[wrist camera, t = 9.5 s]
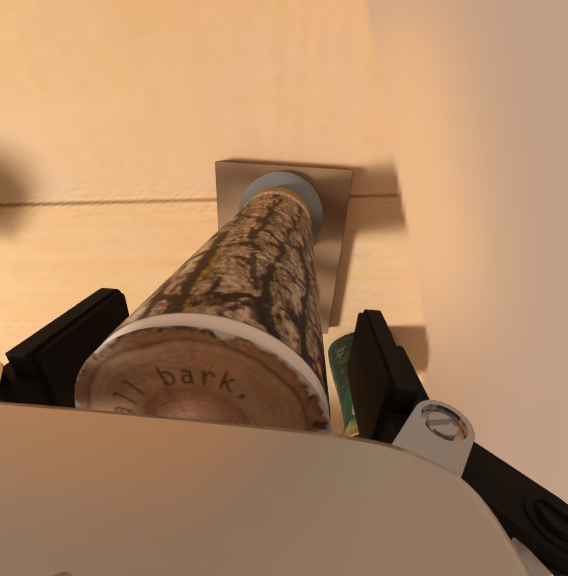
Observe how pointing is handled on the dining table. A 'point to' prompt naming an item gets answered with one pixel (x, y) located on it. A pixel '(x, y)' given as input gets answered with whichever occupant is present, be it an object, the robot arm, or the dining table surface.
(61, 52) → the dining table surface
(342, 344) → the coffee jar
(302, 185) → the board
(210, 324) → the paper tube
